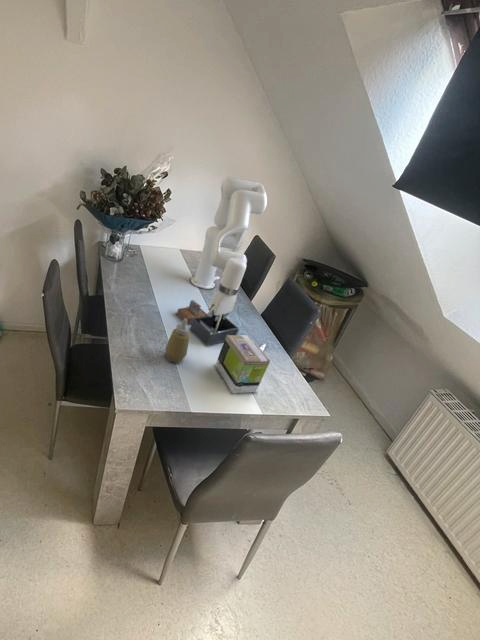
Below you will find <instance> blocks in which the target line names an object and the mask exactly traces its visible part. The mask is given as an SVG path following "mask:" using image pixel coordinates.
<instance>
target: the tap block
mask: <svg viewBox="0 0 480 640" xmlns="http://www.w3.org/2000/svg"><path fill="white" fill-rule="evenodd" d="M188 308H189V305H186V307H181V308H177V312H176V315H177V316H178V317H179V318H180V319H181V320H182V321H183V320H184V319H187V325H190V324H192V321H193V319H194V318H199V317H204V316H208V315H207V314H208V313H207V312H205V311H204V310H203V309H202V307H200V311H199V314H198V315H195V314H194V313H193V312H191V311H190V310H189V309H188Z"/></svg>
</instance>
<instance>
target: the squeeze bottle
mask: <svg viewBox="0 0 480 640" xmlns="http://www.w3.org/2000/svg"><path fill="white" fill-rule="evenodd" d="M189 332H190V328H189V326H188V324H187V319H184V320H182V322H181V323H179V324H177V325H176V327H175V328H174V329H173V330H172V332H171V334H170V337H169V338H168V341H167V343H166V346H165V354H166V359H167V360H168V361H169V362H171V363H175V364H179V363H181V362H182V361H183V359H184V358H185V357H186V356H187V353H188V348H189V342H190V337H191V334H190V333H189Z"/></svg>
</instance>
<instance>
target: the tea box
mask: <svg viewBox="0 0 480 640" xmlns="http://www.w3.org/2000/svg"><path fill="white" fill-rule="evenodd" d="M259 347H260V346H259V345H258V344H257V342H255V341H254V339H253V338H252V336H250V334H249V335H247V334H244V335H243V334H236V335H227V336H226V338H225V341H224V342H223V343H222V347H221V349H220V352H219V354H218V357H217V360H216V362H215V367H216V369H217V370H218V372H219V373H220V376H221V377H222V378H223V380H224V382H225V383H226V385H227V387H228V388H229V390H230V392H231V393H233V394H241V393H244V394H245V393H246V394H247V393H256V392H257V391H258V388H259V386H260V384H261V382H262V380H263V377H264V376H265V374H266V371H267V369H268V367H269V365H270V362H271V360H270V358H269V357H268V356H267V354H265V352H264V350H263V351H262V350H261V349H260V348H259Z"/></svg>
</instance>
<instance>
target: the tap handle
mask: <svg viewBox="0 0 480 640" xmlns="http://www.w3.org/2000/svg"><path fill="white" fill-rule="evenodd" d="M188 307H189V308H188V309H189V310H190V311H191V312H193V313H194V314H195V315H198V314H199V311H200V308H202V306H201V304H199V303H197V301H195V300H194V299H190V301H189V305H188Z"/></svg>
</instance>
